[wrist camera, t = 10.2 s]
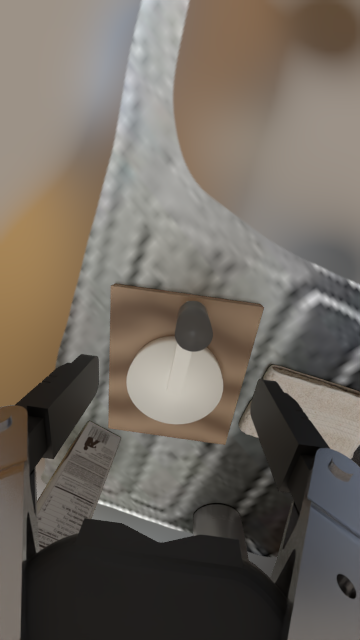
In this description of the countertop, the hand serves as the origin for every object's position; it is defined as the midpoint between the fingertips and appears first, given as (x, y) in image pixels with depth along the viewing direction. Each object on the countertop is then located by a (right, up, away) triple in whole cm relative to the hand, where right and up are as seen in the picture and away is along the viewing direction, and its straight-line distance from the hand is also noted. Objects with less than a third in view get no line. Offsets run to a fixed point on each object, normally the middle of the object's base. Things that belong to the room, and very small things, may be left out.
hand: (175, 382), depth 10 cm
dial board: (0, -4, +19) cm, 19 cm away
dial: (0, -2, +16) cm, 16 cm away
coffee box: (-14, -18, +25) cm, 34 cm away
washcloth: (+19, -10, +21) cm, 30 cm away
